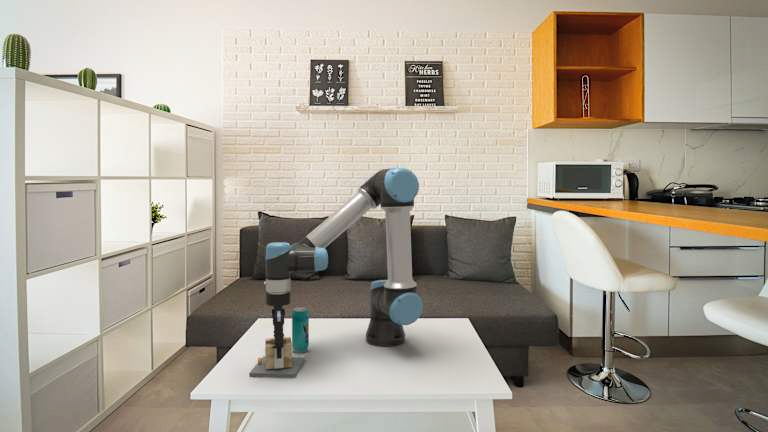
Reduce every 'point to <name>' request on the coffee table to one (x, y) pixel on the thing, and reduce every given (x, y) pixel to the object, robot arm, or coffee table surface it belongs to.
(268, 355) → the wooden square frame
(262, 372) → the post base
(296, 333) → the beverage can
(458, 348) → the coffee table surface
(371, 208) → the robot arm
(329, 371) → the coffee table surface
